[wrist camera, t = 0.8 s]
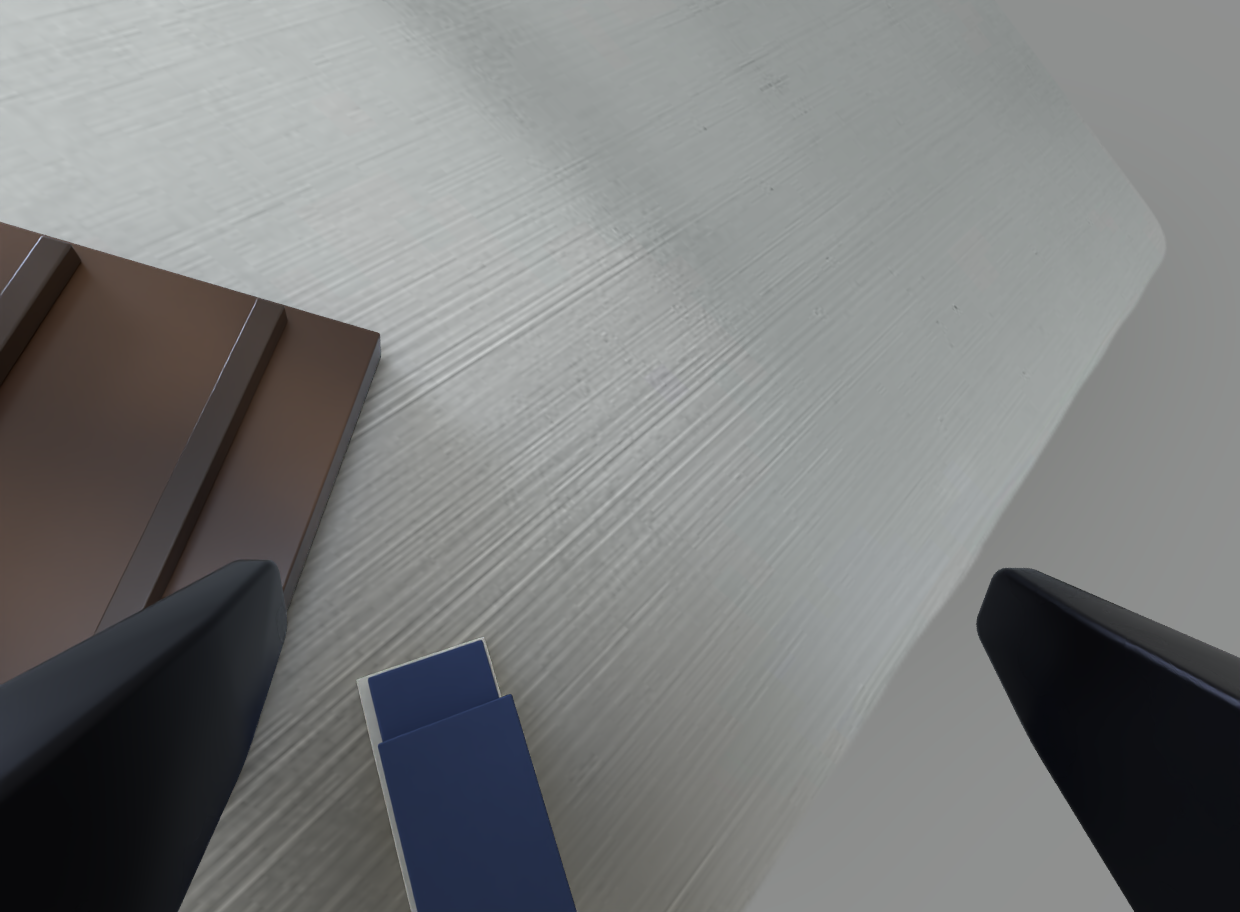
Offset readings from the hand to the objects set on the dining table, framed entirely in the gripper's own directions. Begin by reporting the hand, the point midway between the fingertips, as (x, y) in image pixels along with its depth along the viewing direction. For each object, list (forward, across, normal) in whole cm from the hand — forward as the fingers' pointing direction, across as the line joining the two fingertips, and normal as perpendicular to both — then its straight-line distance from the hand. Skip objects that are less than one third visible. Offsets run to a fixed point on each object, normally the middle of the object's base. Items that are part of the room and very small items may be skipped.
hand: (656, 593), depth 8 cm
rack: (+11, +14, +5) cm, 19 cm away
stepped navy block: (+6, +3, +12) cm, 14 cm away
